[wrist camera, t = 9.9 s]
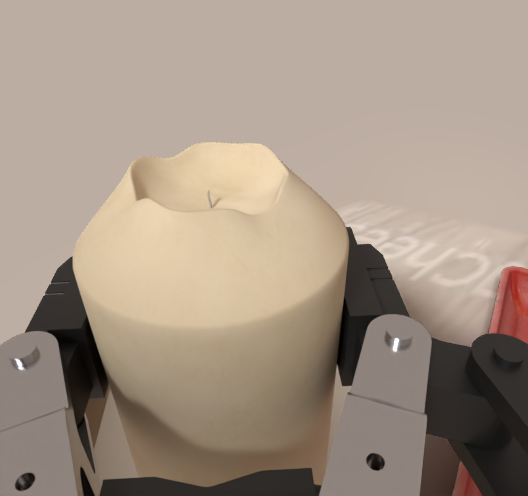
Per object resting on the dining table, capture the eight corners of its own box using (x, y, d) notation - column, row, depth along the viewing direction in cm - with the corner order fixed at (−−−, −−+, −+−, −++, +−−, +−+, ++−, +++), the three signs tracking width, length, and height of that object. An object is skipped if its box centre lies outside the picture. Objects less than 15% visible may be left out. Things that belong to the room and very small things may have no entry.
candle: (290, 602, 11) (302, 290, 6) (106, 516, 13) (-26, 211, 7) (344, 420, 16) (382, 133, 10) (199, 373, 17) (160, 106, 12)
